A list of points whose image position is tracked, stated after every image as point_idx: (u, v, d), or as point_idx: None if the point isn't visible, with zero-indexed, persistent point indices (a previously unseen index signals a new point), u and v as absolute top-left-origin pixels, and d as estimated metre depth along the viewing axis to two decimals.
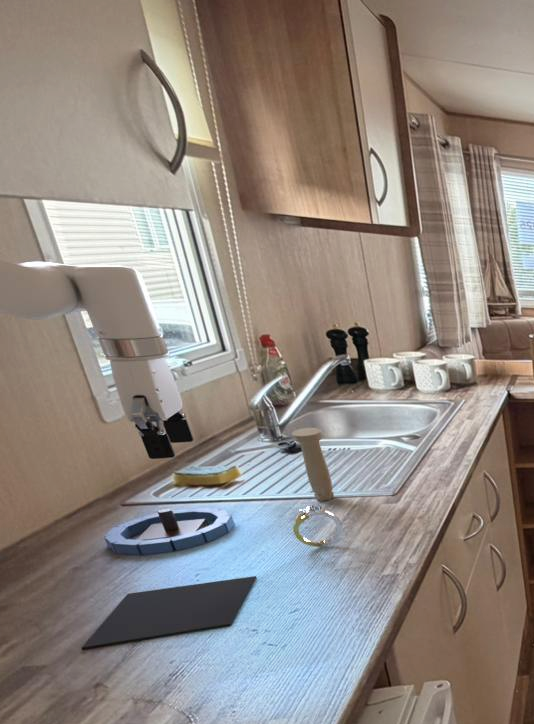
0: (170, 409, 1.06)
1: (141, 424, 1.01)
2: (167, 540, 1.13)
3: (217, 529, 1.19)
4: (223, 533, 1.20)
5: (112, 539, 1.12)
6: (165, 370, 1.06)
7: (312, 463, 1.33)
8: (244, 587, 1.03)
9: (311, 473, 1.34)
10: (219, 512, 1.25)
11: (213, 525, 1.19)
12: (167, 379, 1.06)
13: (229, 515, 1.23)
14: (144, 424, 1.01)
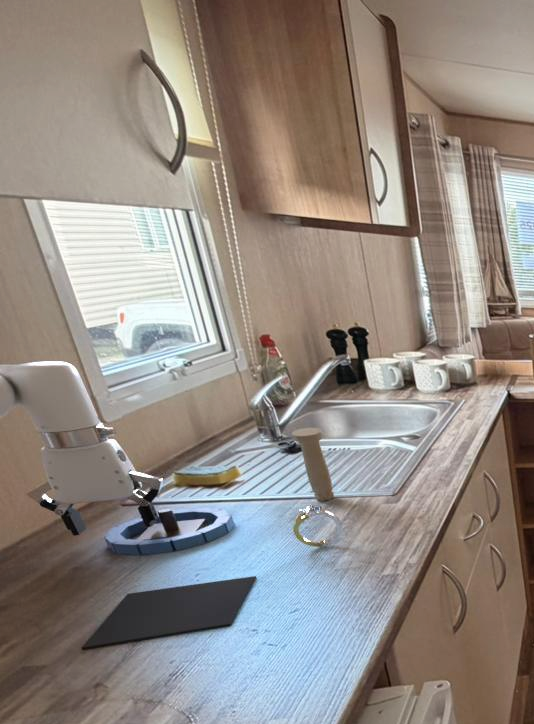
0: (79, 496, 1.10)
1: None
2: (167, 540, 1.13)
3: (217, 529, 1.19)
4: (223, 533, 1.20)
5: (112, 539, 1.12)
6: (82, 462, 1.08)
7: (312, 463, 1.33)
8: (244, 587, 1.03)
9: (311, 473, 1.34)
10: (219, 512, 1.25)
11: (213, 525, 1.19)
12: (83, 470, 1.08)
13: (229, 515, 1.23)
14: (38, 502, 1.09)
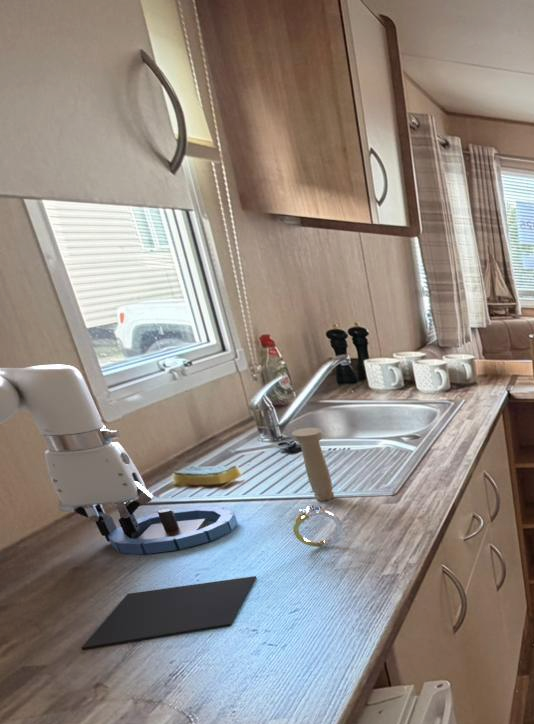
0: (83, 498, 1.10)
1: None
2: (170, 539, 1.13)
3: (220, 528, 1.19)
4: (226, 531, 1.20)
5: (116, 538, 1.13)
6: (86, 465, 1.08)
7: (312, 463, 1.33)
8: (244, 587, 1.03)
9: (311, 473, 1.34)
10: (222, 510, 1.25)
11: (216, 523, 1.19)
12: (86, 473, 1.09)
13: (232, 514, 1.24)
14: (75, 512, 1.12)
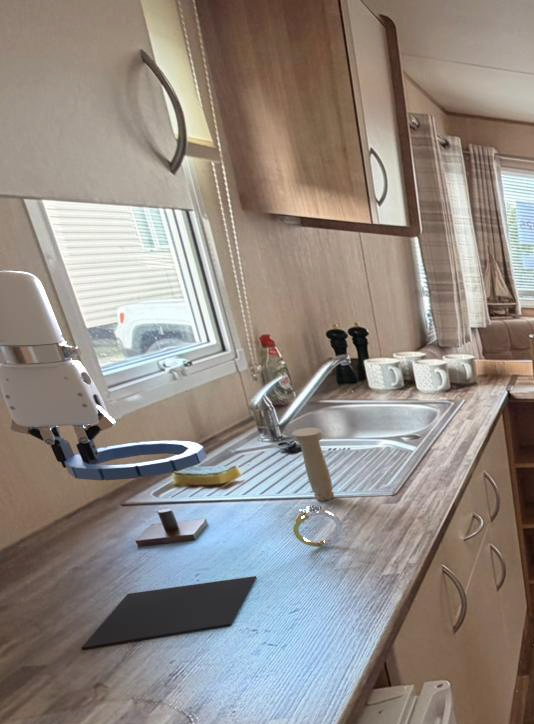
0: (38, 418, 1.03)
1: None
2: (132, 465, 1.06)
3: (187, 459, 1.12)
4: (194, 463, 1.13)
5: (73, 464, 1.05)
6: (43, 381, 1.01)
7: (312, 463, 1.33)
8: (244, 587, 1.03)
9: (311, 473, 1.34)
10: (190, 444, 1.18)
11: (183, 454, 1.12)
12: (43, 390, 1.02)
13: (201, 447, 1.17)
14: (29, 433, 1.04)
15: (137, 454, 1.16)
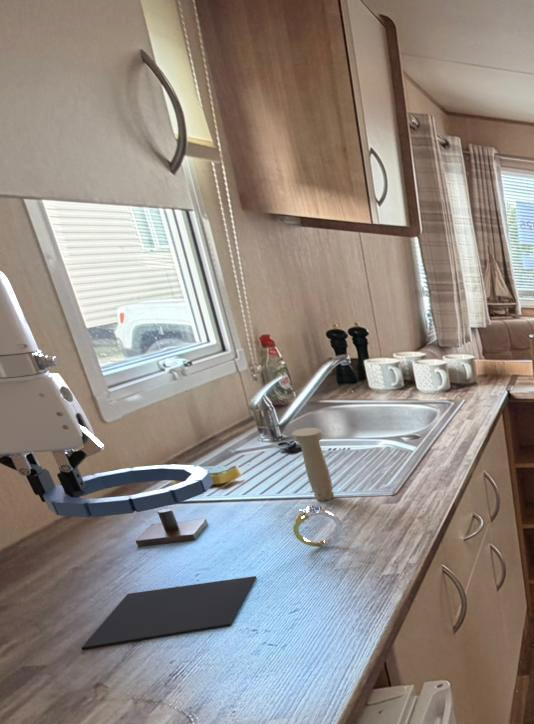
0: (9, 444, 0.85)
1: None
2: (125, 498, 0.88)
3: (190, 487, 0.94)
4: (198, 492, 0.95)
5: (53, 497, 0.87)
6: (13, 399, 0.83)
7: (312, 463, 1.33)
8: (244, 587, 1.03)
9: (311, 473, 1.34)
10: (194, 469, 1.00)
11: (185, 482, 0.94)
12: (14, 410, 0.84)
13: (206, 472, 0.99)
14: None
15: (131, 482, 0.98)
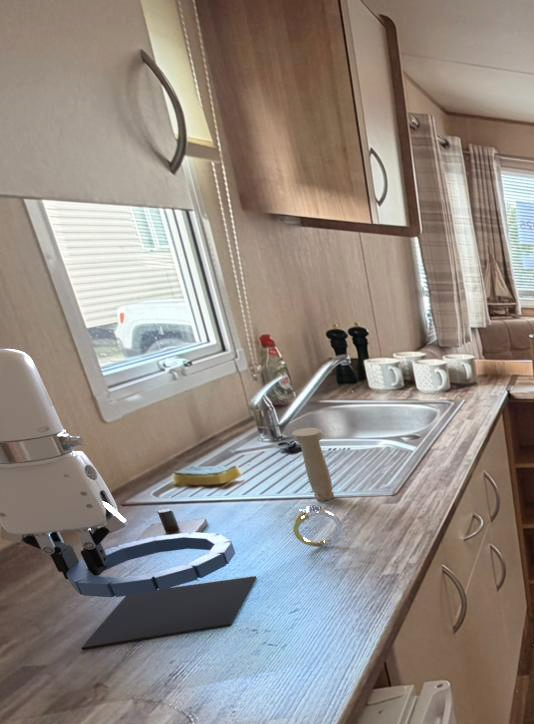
0: (33, 525, 0.84)
1: None
2: (148, 577, 0.87)
3: (213, 561, 0.93)
4: (221, 565, 0.94)
5: (77, 576, 0.86)
6: (38, 481, 0.82)
7: (312, 463, 1.33)
8: (244, 587, 1.03)
9: (311, 473, 1.34)
10: (216, 538, 0.99)
11: (208, 555, 0.94)
12: (38, 491, 0.83)
13: (228, 542, 0.98)
14: (23, 541, 0.86)
15: (154, 552, 0.98)
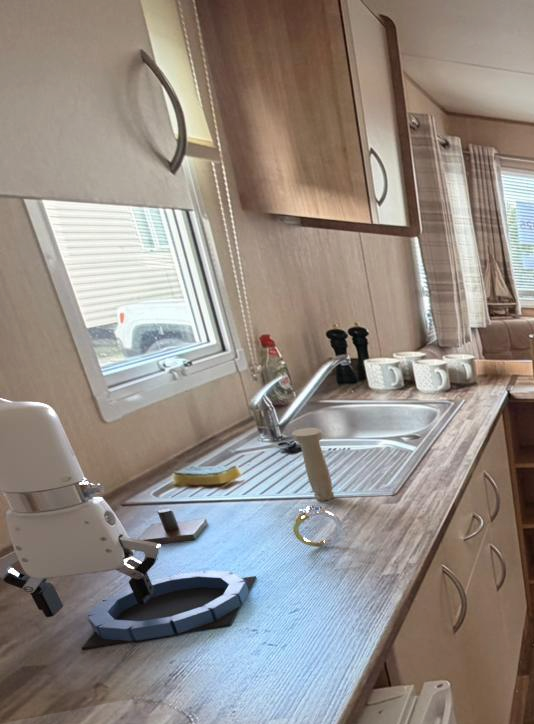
0: (54, 569, 0.87)
1: None
2: (166, 621, 0.90)
3: (228, 603, 0.96)
4: (236, 606, 0.97)
5: (97, 620, 0.89)
6: (60, 528, 0.85)
7: (312, 463, 1.33)
8: None
9: (311, 473, 1.34)
10: (230, 577, 1.02)
11: (223, 597, 0.96)
12: (60, 538, 0.86)
13: (242, 582, 1.01)
14: (2, 577, 0.86)
15: (169, 591, 1.00)
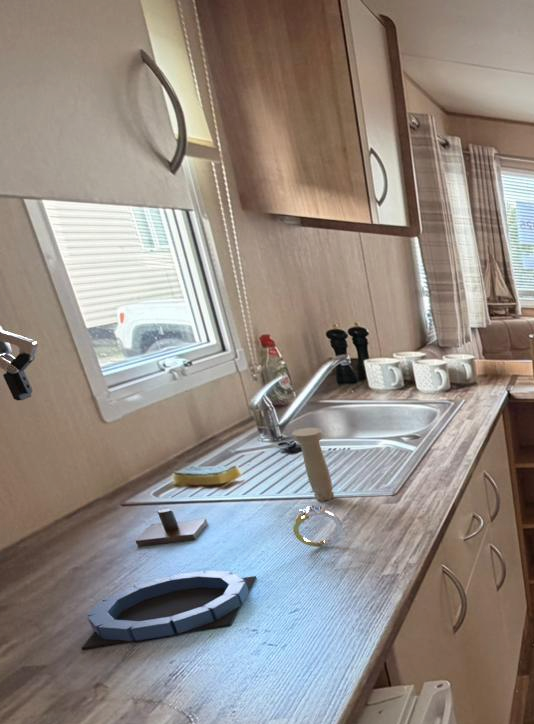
0: None
1: None
2: (166, 621, 0.90)
3: (228, 603, 0.96)
4: (236, 606, 0.97)
5: (97, 620, 0.89)
6: None
7: (312, 463, 1.33)
8: None
9: (311, 473, 1.34)
10: (230, 577, 1.02)
11: (223, 597, 0.96)
12: None
13: (242, 582, 1.01)
14: None
15: (169, 591, 1.00)
